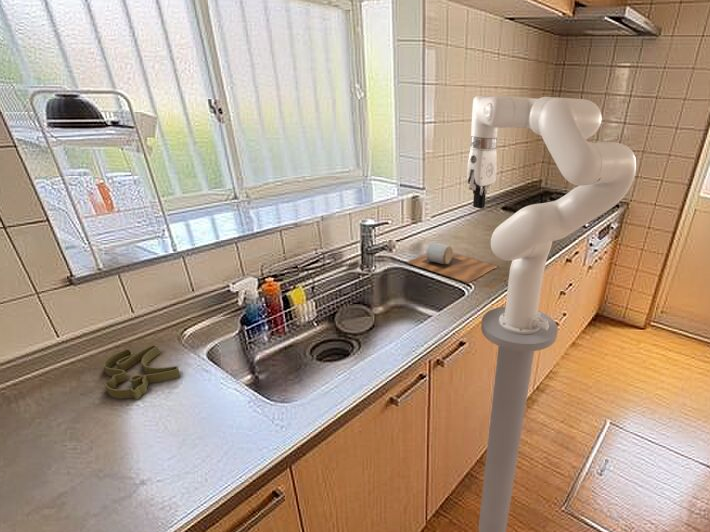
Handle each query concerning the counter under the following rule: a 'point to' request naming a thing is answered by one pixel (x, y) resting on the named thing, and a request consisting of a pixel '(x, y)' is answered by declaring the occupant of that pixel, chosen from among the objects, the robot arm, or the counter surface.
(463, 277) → the wooden cutting board
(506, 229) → the robot arm
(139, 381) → the cookie cutter
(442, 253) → the ceramic mug
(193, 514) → the counter surface
